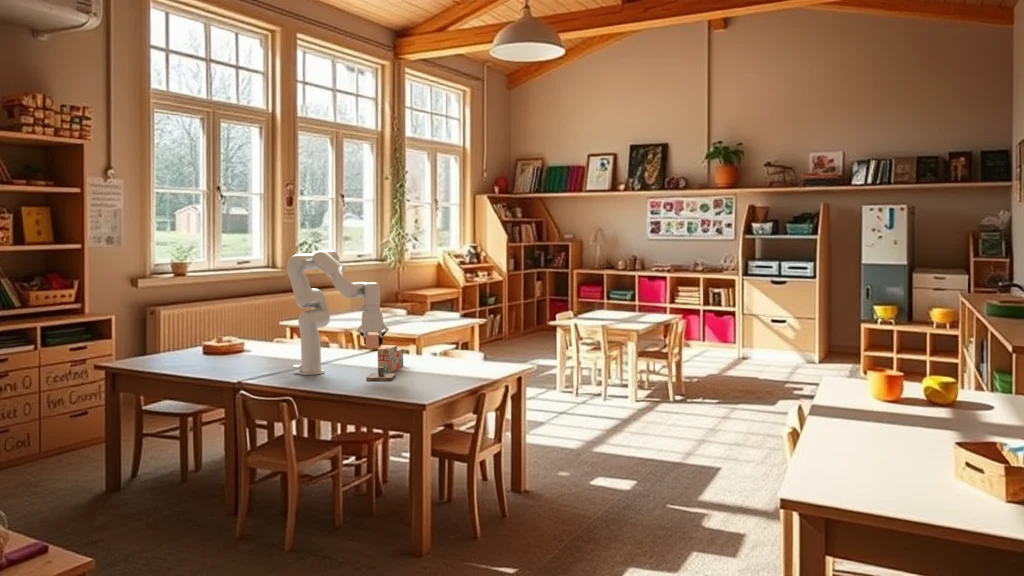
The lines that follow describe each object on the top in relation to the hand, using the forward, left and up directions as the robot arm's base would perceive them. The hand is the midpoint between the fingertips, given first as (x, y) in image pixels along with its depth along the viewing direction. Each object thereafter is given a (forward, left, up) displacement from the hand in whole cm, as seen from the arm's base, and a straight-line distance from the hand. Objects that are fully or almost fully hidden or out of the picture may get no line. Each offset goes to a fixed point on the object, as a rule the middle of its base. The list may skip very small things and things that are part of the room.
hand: (373, 345), depth 396 cm
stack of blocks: (+3, +27, -17) cm, 32 cm away
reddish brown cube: (0, 0, -1) cm, 1 cm away
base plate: (+4, 0, -16) cm, 17 cm away
